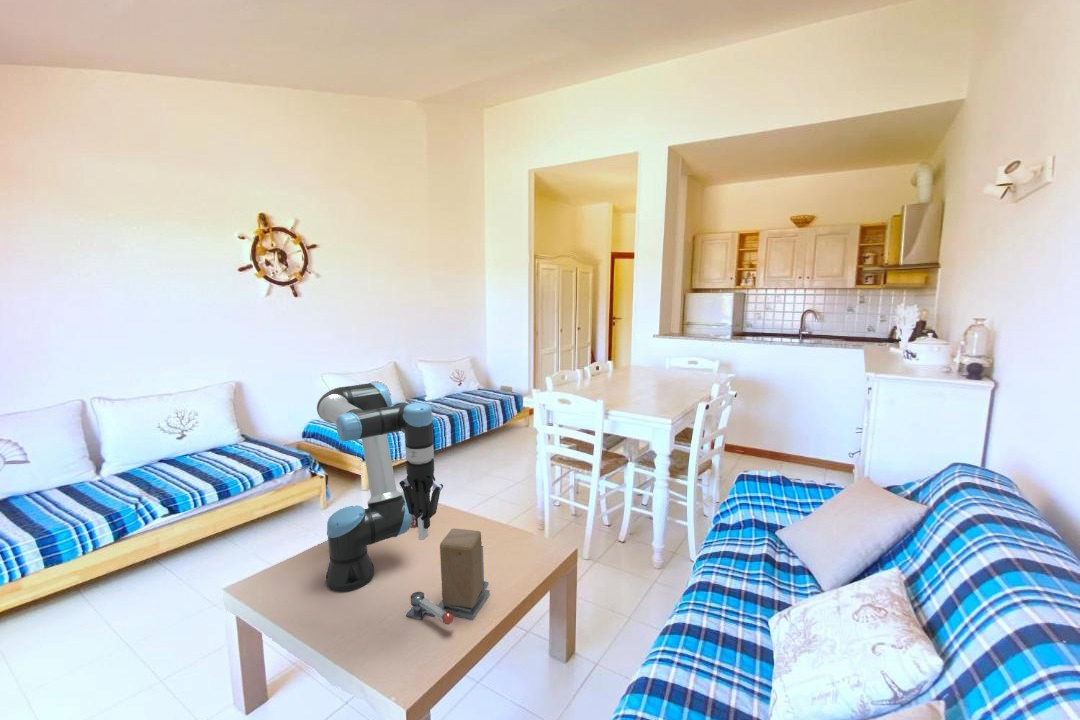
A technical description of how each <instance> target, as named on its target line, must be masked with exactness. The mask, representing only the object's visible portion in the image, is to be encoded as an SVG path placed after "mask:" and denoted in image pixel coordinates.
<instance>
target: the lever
mask: <svg viewBox="0 0 1080 720" xmlns="http://www.w3.org/2000/svg"><path fill="white" fill-rule="evenodd" d="M410 605H411V606H412V607H413V606H415V607H417V606H421V607H423V608H424V609H426V610H427V611H429V612H430V613H432V614H434V615H435V617H437V618H438V619H439V620H441V621H442V623H443V624H444V625H451V624H452V623H453V621H454V617H455V616H453V614H452V613H451V612H446V611H444V610H443V609H441V608H440V607H438V605H436V604H435V603H434V602H432V601H430V600H428V599H427V598H425V593H424V592H423V591H415V592H413V593H411V595H410Z"/></svg>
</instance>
